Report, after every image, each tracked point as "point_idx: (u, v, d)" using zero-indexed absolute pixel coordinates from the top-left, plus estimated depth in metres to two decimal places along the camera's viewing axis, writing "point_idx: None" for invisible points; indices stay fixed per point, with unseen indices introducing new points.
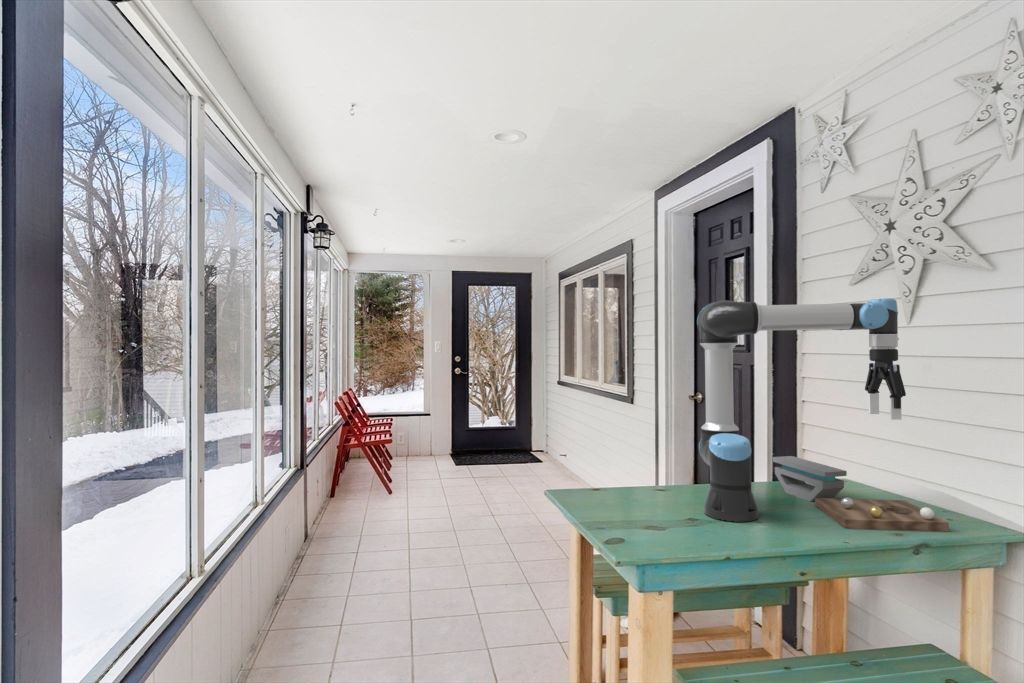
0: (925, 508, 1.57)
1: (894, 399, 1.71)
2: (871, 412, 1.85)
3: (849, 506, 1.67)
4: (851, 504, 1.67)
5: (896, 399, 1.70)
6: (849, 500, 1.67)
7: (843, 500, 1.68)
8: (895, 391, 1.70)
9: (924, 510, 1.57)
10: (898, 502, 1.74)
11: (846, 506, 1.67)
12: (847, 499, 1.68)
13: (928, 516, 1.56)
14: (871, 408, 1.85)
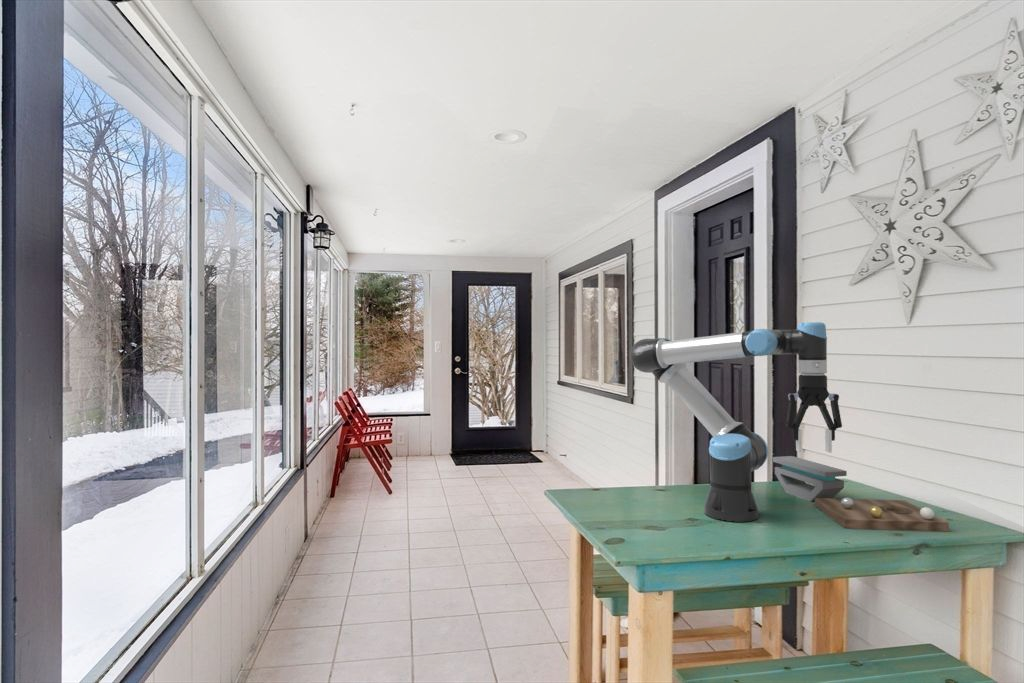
0: (925, 508, 1.57)
1: None
2: (825, 449, 1.70)
3: (849, 506, 1.67)
4: (851, 504, 1.67)
5: (792, 430, 1.71)
6: (849, 500, 1.67)
7: (843, 500, 1.68)
8: None
9: (924, 510, 1.57)
10: (898, 502, 1.74)
11: (846, 506, 1.67)
12: (847, 499, 1.68)
13: (928, 516, 1.56)
14: (825, 445, 1.70)
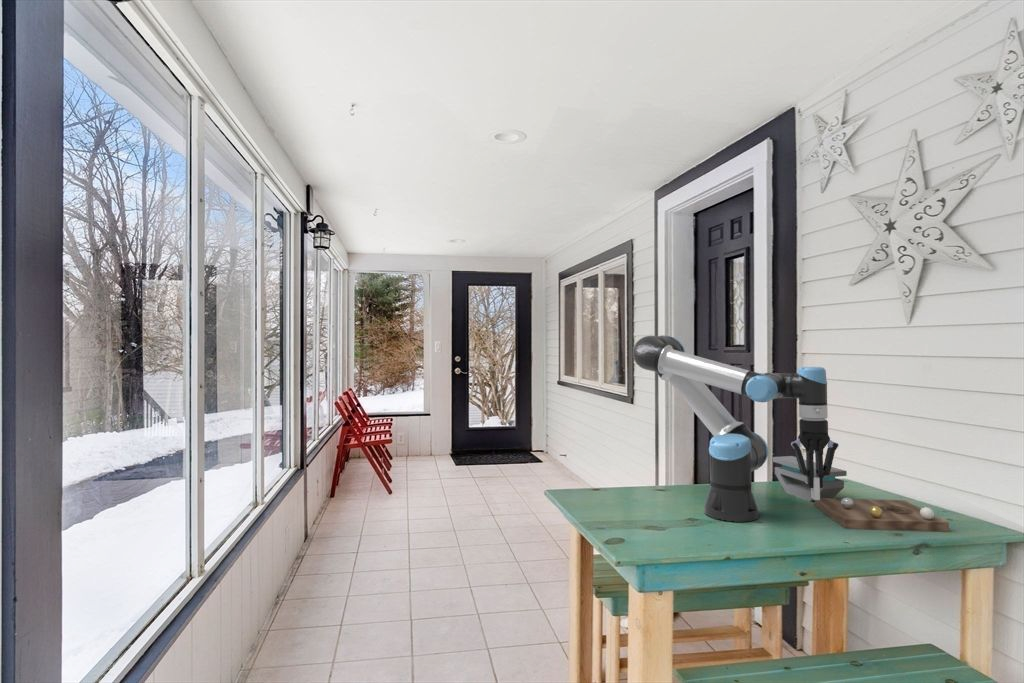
0: (925, 508, 1.57)
1: None
2: None
3: (849, 506, 1.67)
4: (851, 504, 1.67)
5: (807, 477, 1.70)
6: (849, 500, 1.67)
7: (843, 500, 1.68)
8: None
9: (924, 510, 1.57)
10: (898, 502, 1.74)
11: (846, 506, 1.67)
12: (847, 499, 1.68)
13: (928, 516, 1.56)
14: None
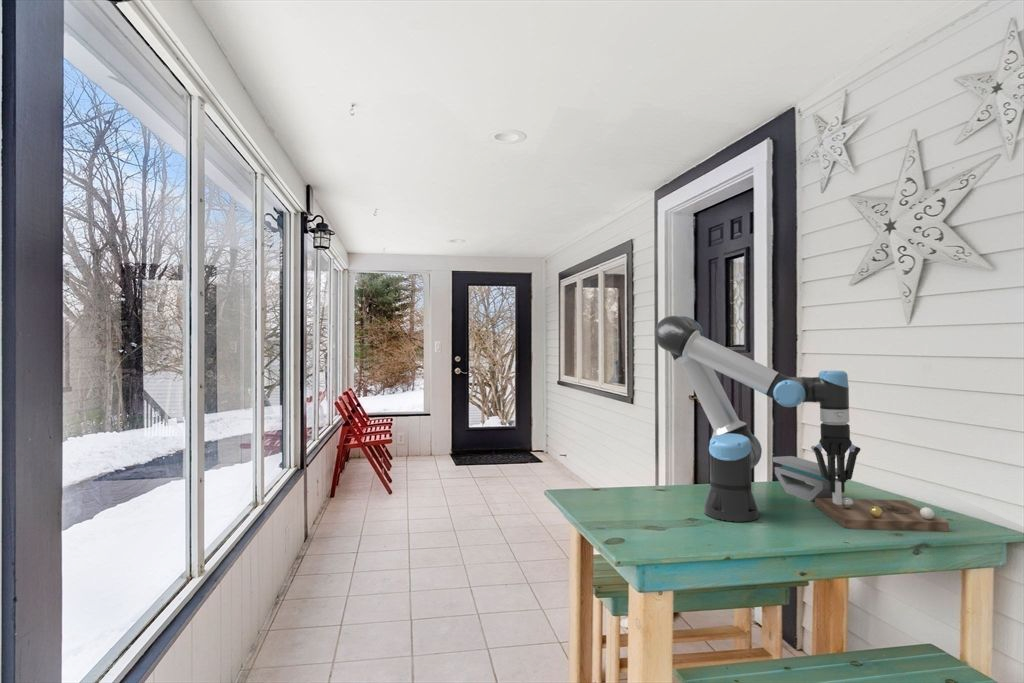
0: (925, 508, 1.57)
1: None
2: None
3: (849, 506, 1.67)
4: (851, 504, 1.67)
5: (829, 482, 1.69)
6: (849, 500, 1.67)
7: (843, 500, 1.68)
8: None
9: (924, 510, 1.57)
10: (898, 502, 1.74)
11: (846, 506, 1.67)
12: (847, 499, 1.68)
13: (928, 516, 1.56)
14: None
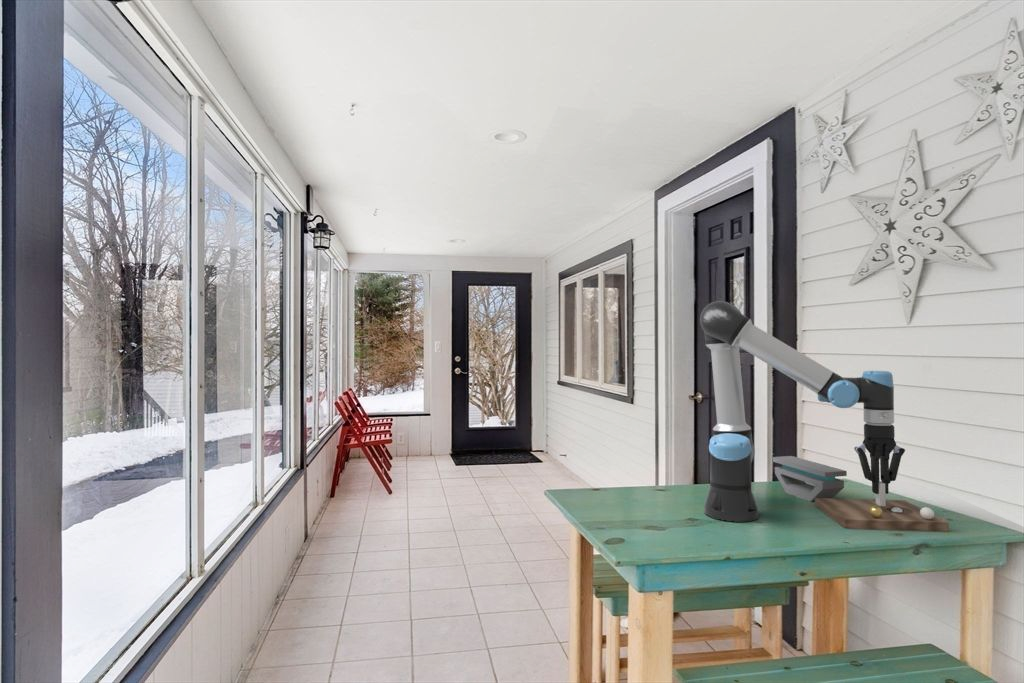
0: (925, 508, 1.57)
1: None
2: None
3: None
4: None
5: (872, 483, 1.68)
6: None
7: None
8: None
9: (924, 510, 1.57)
10: (898, 502, 1.74)
11: (900, 511, 1.65)
12: None
13: (928, 516, 1.56)
14: None
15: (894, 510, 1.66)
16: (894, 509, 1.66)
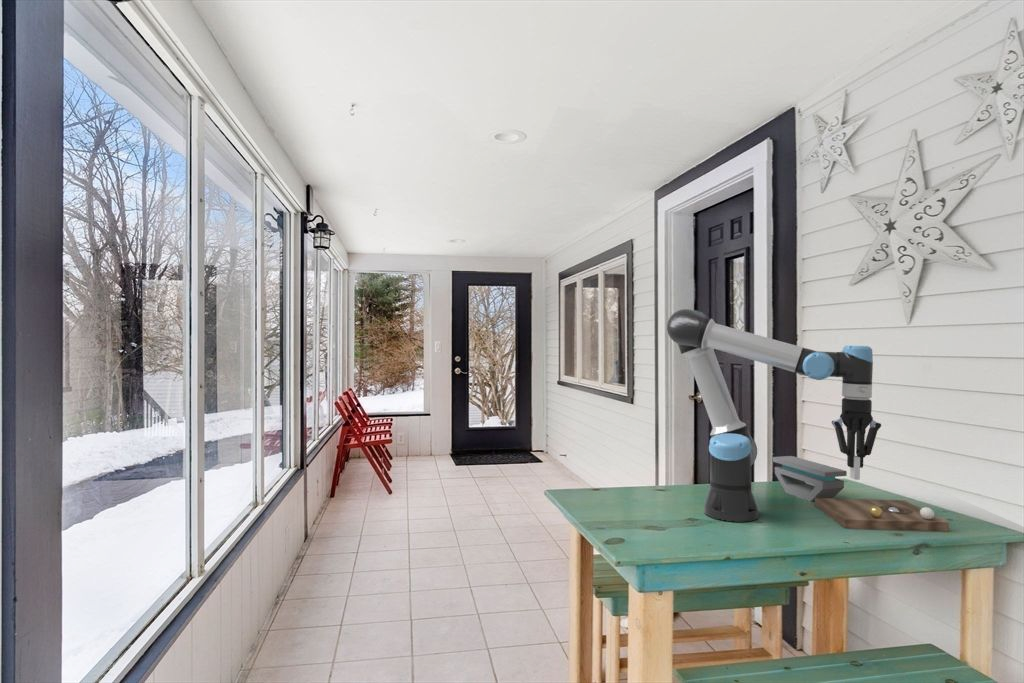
0: (925, 508, 1.57)
1: None
2: None
3: None
4: None
5: (847, 457, 1.69)
6: None
7: None
8: None
9: (924, 510, 1.57)
10: (898, 502, 1.74)
11: (894, 510, 1.65)
12: None
13: (928, 516, 1.56)
14: None
15: None
16: None
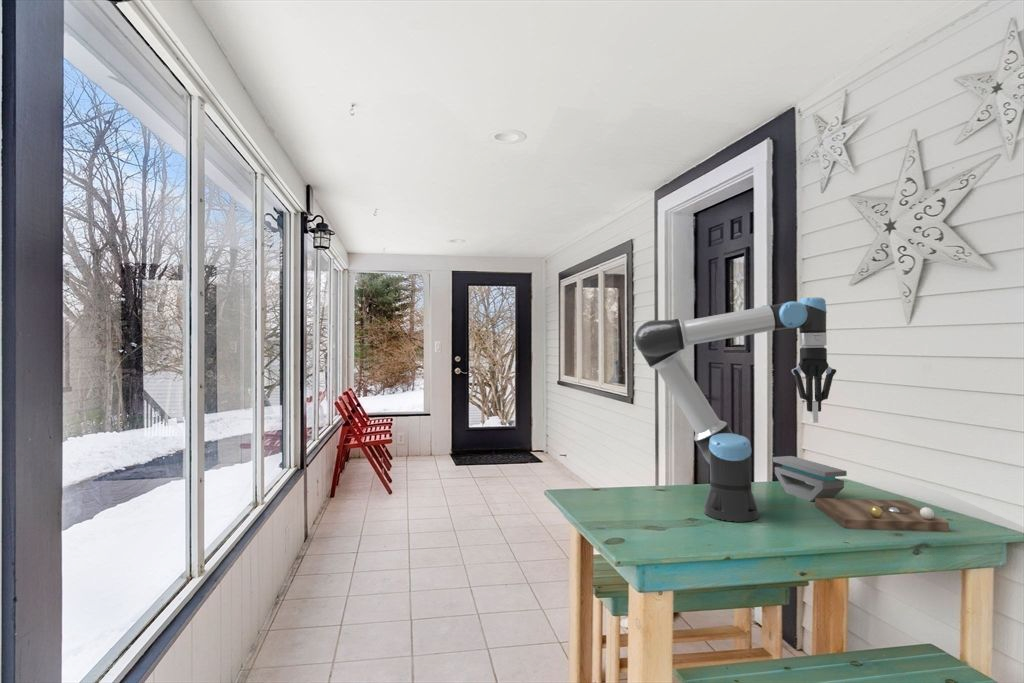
0: (925, 508, 1.57)
1: None
2: None
3: None
4: None
5: (807, 402, 1.81)
6: None
7: None
8: None
9: (924, 510, 1.57)
10: (898, 502, 1.74)
11: (895, 510, 1.65)
12: None
13: (928, 516, 1.56)
14: None
15: None
16: None
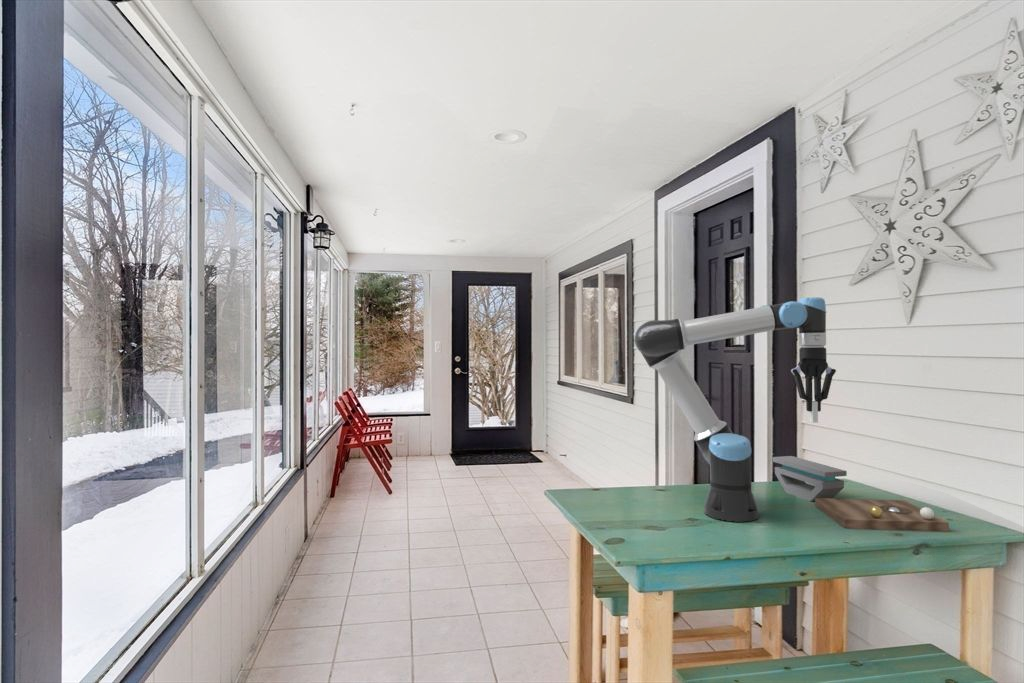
0: (925, 508, 1.57)
1: None
2: None
3: None
4: None
5: (806, 402, 1.81)
6: None
7: None
8: None
9: (924, 510, 1.57)
10: (898, 502, 1.74)
11: (895, 510, 1.65)
12: None
13: (928, 516, 1.56)
14: None
15: None
16: None
